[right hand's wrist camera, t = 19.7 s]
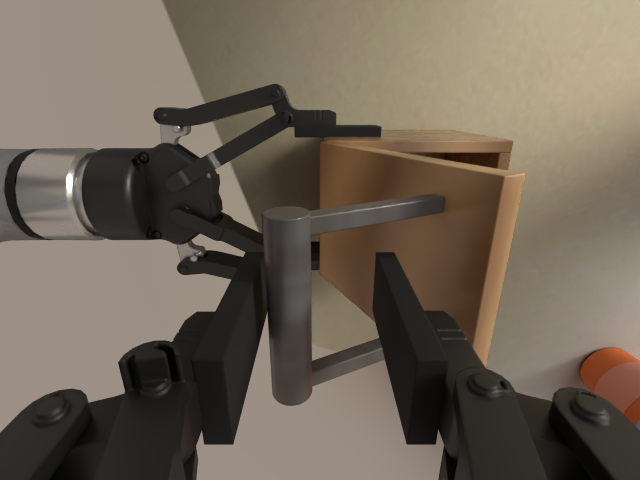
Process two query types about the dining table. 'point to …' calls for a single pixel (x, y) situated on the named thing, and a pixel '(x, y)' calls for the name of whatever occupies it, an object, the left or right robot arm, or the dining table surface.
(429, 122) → the dining table surface
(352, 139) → the chest
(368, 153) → the lid
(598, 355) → the cup with straw
